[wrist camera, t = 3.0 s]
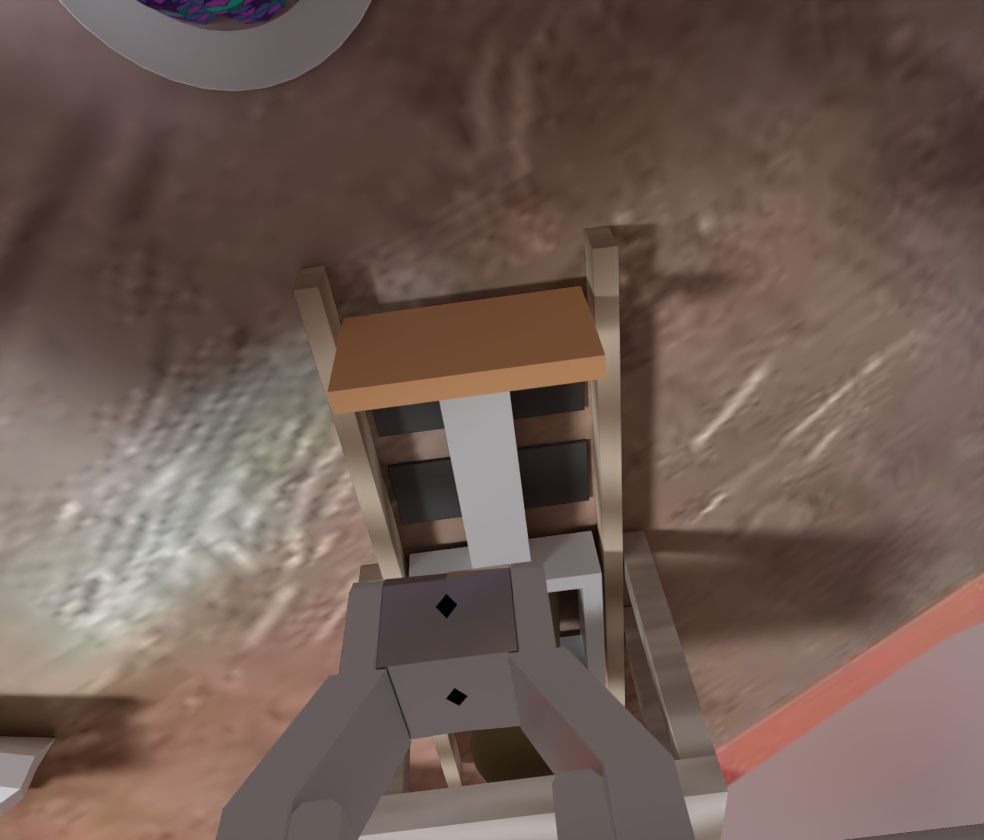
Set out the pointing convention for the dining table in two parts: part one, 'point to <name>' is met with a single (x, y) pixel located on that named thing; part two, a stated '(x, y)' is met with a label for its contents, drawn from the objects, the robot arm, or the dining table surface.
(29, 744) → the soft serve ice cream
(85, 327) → the dining table surface
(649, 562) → the tunnel track
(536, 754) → the olive rounded cylinder
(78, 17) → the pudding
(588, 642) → the sled fence
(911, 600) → the dining table surface
